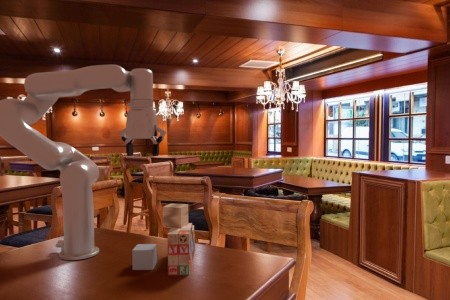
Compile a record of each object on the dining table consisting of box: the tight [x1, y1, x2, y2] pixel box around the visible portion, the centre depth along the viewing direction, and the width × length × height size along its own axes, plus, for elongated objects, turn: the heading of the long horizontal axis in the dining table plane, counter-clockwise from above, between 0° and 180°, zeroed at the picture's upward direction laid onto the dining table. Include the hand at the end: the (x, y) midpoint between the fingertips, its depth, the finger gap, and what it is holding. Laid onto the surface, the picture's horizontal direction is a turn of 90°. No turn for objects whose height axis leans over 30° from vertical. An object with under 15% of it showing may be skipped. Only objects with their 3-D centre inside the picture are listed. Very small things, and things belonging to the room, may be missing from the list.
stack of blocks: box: [167, 222, 196, 276], centre depth 109 cm, size 21×6×12 cm, turn 1°
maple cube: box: [162, 203, 189, 228], centre depth 108 cm, size 6×6×6 cm
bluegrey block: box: [131, 243, 158, 271], centre depth 106 cm, size 6×6×6 cm
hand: (142, 155), depth 118 cm, fingers open, 9 cm apart
